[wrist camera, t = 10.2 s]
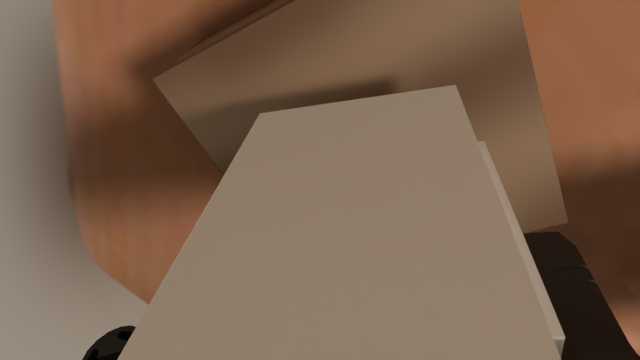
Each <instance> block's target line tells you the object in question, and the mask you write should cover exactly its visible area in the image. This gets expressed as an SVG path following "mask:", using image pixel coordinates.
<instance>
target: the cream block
mask: <svg viewBox="0 0 640 360" xmlns="http://www.w3.org/2000/svg"><path fill="white" fill-rule="evenodd" d="M117 360H561V357H560V355H559V352H558V350H557V347H556V344H555V342H554V339H553V337H552V334H551V331H550V329H549V326H548V324H547V321H546V318H545V316H544V313H543V311H542V308H541V305H540V303H539V300H538V298H537V295H536V292H535V290H534V287H533V285H532V282H531V279H530V277H529V274H528V272H527V269H526V266H525V264H524V261H523V259H522V256H521V253H520V251H519V248H518V246H517V243H516V240H515V238H514V235H513V233H512V230H511V227H510V225H509V222H508V220H507V217H506V214H505V212H504V209H503V206H502V204H501V201H500V199H499V196H498V193H497V191H496V188H495V186H494V183H493V180H492V178H491V175H490V173H489V170H488V167H487V165H486V162H485V160H484V157H483V154H482V152H481V149H480V147H479V144H478V141H477V139H476V136H475V134H474V131H473V128H472V126H471V123H470V121H469V118H468V115H467V113H466V110H465V108H464V105H463V102H462V100H461V97H460V95H459V92H458V89H457V87H456V85H451V86H444V87H437V88H430V89H423V90H416V91H410V92H403V93H396V94H389V95H382V96H375V97H369V98H362V99H355V100H348V101H341V102H334V103H328V104H321V105H314V106H307V107H300V108H293V109H287V110H280V111H273V112H266V113H260V114H259V116H258V118H257V119H256V121H255V123H254V124H253V126H252V128H251V130H250V131H249V133H248V135H247V136H246V138H245V140H244V142H243V143H242V145H241V147H240V149H239V150H238V152H237V154H236V155H235V157H234V159H233V161H232V162H231V164H230V166H229V168H228V169H227V171H226V173H225V174H224V176H223V178H222V180H221V181H220V183H219V185H218V187H217V188H216V190H215V192H214V193H213V195H212V197H211V199H210V200H209V202H208V204H207V205H206V207H205V209H204V211H203V212H202V214H201V216H200V218H199V219H198V221H197V223H196V224H195V226H194V228H193V230H192V231H191V233H190V235H189V237H188V238H187V240H186V242H185V243H184V245H183V247H182V249H181V250H180V252H179V254H178V256H177V257H176V259H175V261H174V262H173V264H172V266H171V268H170V269H169V271H168V273H167V275H166V276H165V278H164V280H163V281H162V283H161V285H160V287H159V288H158V290H157V292H156V293H155V295H154V297H153V299H152V300H151V302H150V304H149V306H148V307H147V309H146V311H145V312H144V314H143V316H142V318H141V320H140V321H139V323H138V325H137V326H136V328H135V330H134V331H133V333H132V335H131V337H130V338H129V340H128V342H127V344H126V345H125V347H124V349H123V350H122V352H121V354H120V356H119V357H118V359H117Z"/></svg>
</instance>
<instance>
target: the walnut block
mask: <svg viewBox="0 0 640 360" xmlns="http://www.w3.org/2000/svg"><path fill="white" fill-rule="evenodd" d="M152 80H153V82H154V83H155V84H156V86H157V87H158V88H159V90H160V91H161V92H162V94H163V95H164V96H165V98H166V99H167V100H168V102H169V103H170V104H171V106H172V107H173V108H174V110H175V111H176V112H177V114H178V115H179V116H180V118H181V119H182V120H183V122H184V123H185V124H186V126H187V127H188V128H189V130H190V131H191V132H192V134H193V135H194V136H195V138H196V139H197V140H198V142H199V143H200V144H201V146H202V147H203V148H204V150H205V151H206V152H207V154H208V155H209V156H210V158H211V159H212V160H213V162H214V163H215V164H216V166H217V167H218V168H219V170H220V171H221V172H222V174H223V175H224V174H225V173H226V171H227V169H228V168H229V166H230V164H231V162H232V161H233V159H234V157H235V155H236V154H237V152H238V150H239V149H240V147H241V145H242V143H243V142H244V140H245V138H246V136H247V135H248V133H249V131H250V130H251V128H252V126H253V124H254V123H255V121H256V119H257V118H258V116H259V114H260V113H266V112H273V111H280V110H287V109H293V108H300V107H307V106H314V105H321V104H328V103H334V102H341V101H348V100H355V99H362V98H369V97H375V96H382V95H389V94H396V93H403V92H410V91H416V90H423V89H430V88H437V87H444V86H451V85H456V87H457V89H458V92H459V95H460V97H461V100H462V102H463V105H464V108H465V110H466V113H467V115H468V118H469V121H470V123H471V126H472V128H473V131H474V134H475V136H476V139H477V141H478V142H480V141H485V144H486V146H487V148H488V151H489V153H490V156H491V158H492V161H493V163H494V165H495V168H496V170H497V173H498V175H499V177H500V180H501V182H502V185H503V187H504V190H505V192H506V194H507V197H508V199H509V202H510V204H511V207H512V209H513V211H514V214H515V216H516V219H517V221H518V223H519V226H520V228H521V231H522V233H523V234H524V233H528V232H532V231H537V230H541V229H545V228H549V227H553V226H557V225H561V224H565V223H568V218H567V214H566V210H565V205H564V201H563V196H562V192H561V188H560V183H559V179H558V174H557V170H556V166H555V161H554V157H553V153H552V148H551V144H550V139H549V135H548V131H547V126H546V122H545V118H544V113H543V109H542V104H541V100H540V96H539V91H538V87H537V82H536V78H535V74H534V69H533V65H532V61H531V56H530V52H529V47H528V43H527V39H526V34H525V30H524V26H523V21H522V17H521V12H520V8H519V4H518V0H273V1H271V2H269V3H267V4H265V5H264V6H262V7H260V8H258V9H257V10H255V11H253V12H251V13H250V14H248V15H246V16H244V17H242V18H241V19H239V20H237V21H235V22H234V23H232V24H230V25H228V26H226V27H225V28H223V29H221V30H219V31H218V32H216V33H214V34H212V35H210V36H209V37H207V38H205V39H203V40H202V41H200V42H199V43H197V44H196V45H195V46H194V47H192V48H191V49H190V50H188V51H187V52H186V53H185V54H183V55H182V56H181V57H180V58H178V59H177V60H176V61H174V62H173V63H172V64H171V65H169V66H168V67H167V68H166V69H164V70H163V71H162V72H160V73H159V74H158V75H157V76H155V77H154V78H153V79H152Z"/></svg>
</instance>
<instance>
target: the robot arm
mask: <svg viewBox="0 0 640 360" xmlns="http://www.w3.org/2000/svg"><path fill="white" fill-rule="evenodd" d="M478 144H479V147H480V149H481V152H482V154H483V157H484V160H485V162H486V165H487V167H488V170H489V173H490V175H491V178H492V180H493V183H494V186H495V188H496V191H497V193H498V196H499V199H500V201H501V204H502V206H503V209H504V212H505V214H506V217H507V220H508V222H509V225H510V227H511V230H512V233H513V235H514V238H515V240H516V243H517V246H518V248H519V251H520V253H521V256H522V259H523V261H524V264H525V266H526V269H527V272H528V274H529V277H530V279H531V282H532V285H533V287H534V290H535V292H536V295H537V298H538V300H539V303H540V305H541V308H542V311H543V313H544V316H545V318H546V321H547V324H548V326H549V329H550V331H551V334H552V337H553V339H554V342H555V344H556V347H557V350H558V352H559V355H560V357H561V360H640V356H639V355H638V354H637V353H636V352H635V351H634V349H633V348H632V346H631V345H630V344H629V342H628V340H627V338H626V337H625V335H624V333H623V331H622V329H621V328H620V326H619V324H618V322H617V320H616V318H615V317H614V315H613V313H612V311H611V309H610V308H609V306H608V304H607V302H606V300H605V299H604V297H603V295H602V293H601V291H600V289H599V288H598V286H597V284H595V283H594V279H593V277H592V275H591V273H590V271H589V269H588V268H586V264H585V262H584V260H583V259H582V257H581V255H580V253H579V251H578V249H577V248H576V246H575V245H573V244H572V243H571V242H570V241H568V240H567V239H566V238H565V237H564V236H562V235H561V234H560V233H559V232H546V233H530V234H523V233H522V231H521V228H520V226H519V223H518V221H517V219H516V216H515V214H514V211H513V209H512V207H511V204H510V202H509V199H508V197H507V194H506V192H505V190H504V187H503V185H502V182H501V180H500V177H499V175H498V173H497V170H496V168H495V165H494V163H493V161H492V158H491V156H490V153H489V151H488V148H487V146H486V144H485V141H480V142H478ZM135 328H136V327H134V326H124V327H119V328H117V329H114V330H112V331H110V332H108V333H106V334H105V335H104V336H102V337H101V338H100V339H98V340H97V341H96V342H95V343H94V344H93V345H92V346H91V347H90V349H89V350H88V351H87V352H86V354H85V356H84V358H83V360H117V359H118V357H119V356H120V354H121V352H122V350H123V349H124V347H125V345H126V344H127V342H128V340H129V338H130V337H131V335H132V333H133V331H134V330H135Z"/></svg>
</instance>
